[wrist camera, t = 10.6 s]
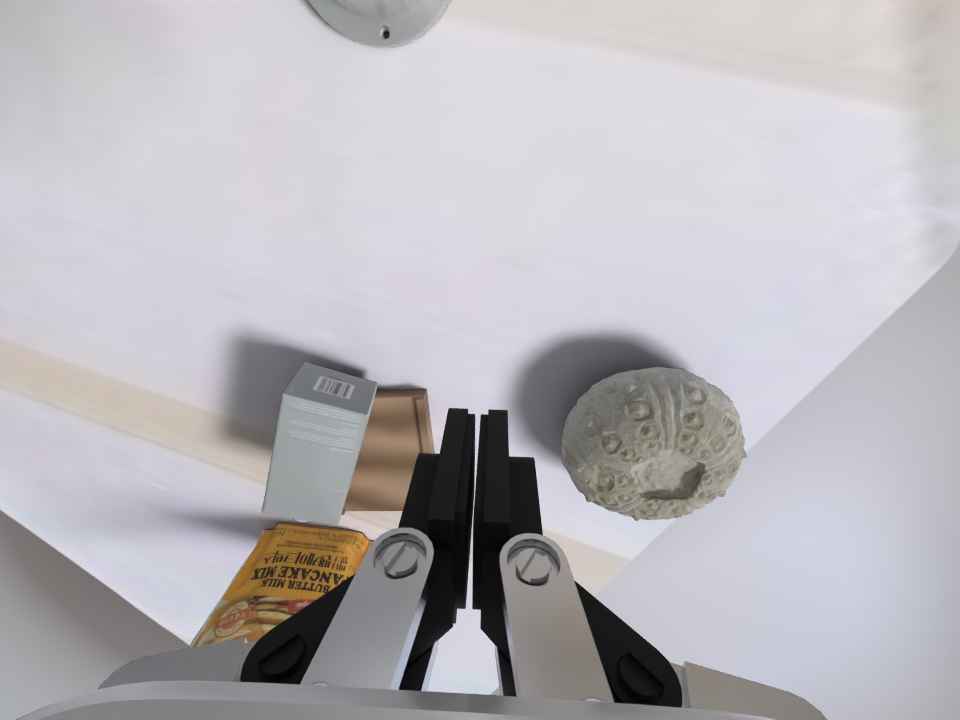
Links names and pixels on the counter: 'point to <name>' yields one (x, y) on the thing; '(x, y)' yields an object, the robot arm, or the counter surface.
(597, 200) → the counter surface
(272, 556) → the pancake mix bag
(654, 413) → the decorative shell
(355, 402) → the skincare box
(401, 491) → the light brown wooden tray
